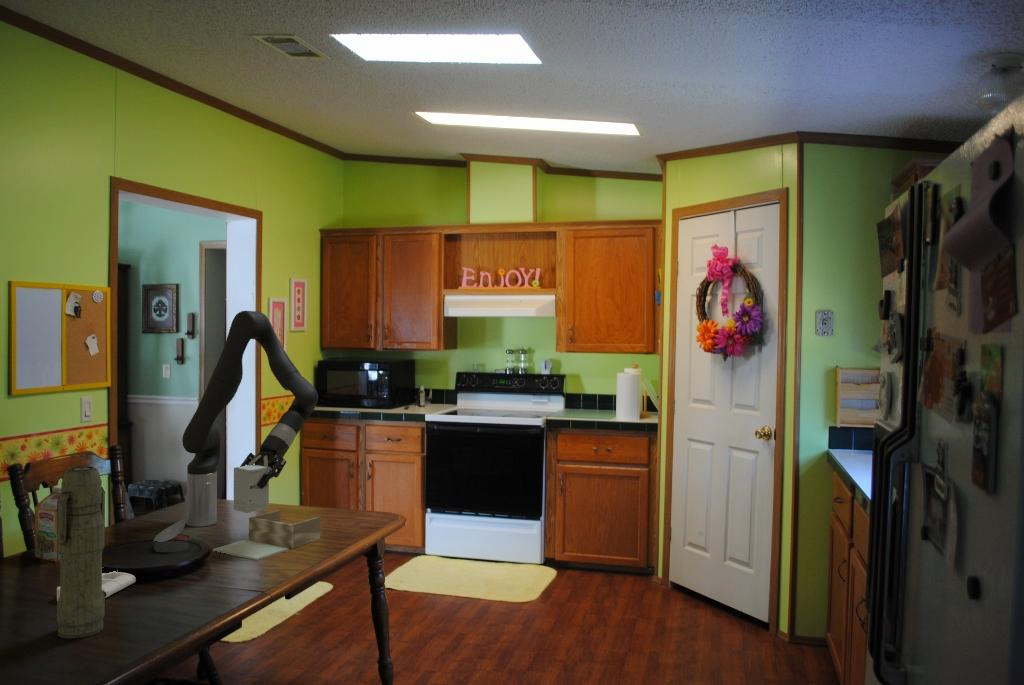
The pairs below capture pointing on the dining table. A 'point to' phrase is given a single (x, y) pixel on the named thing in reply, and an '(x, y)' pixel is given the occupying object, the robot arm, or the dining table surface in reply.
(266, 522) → the box
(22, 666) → the dining table surface
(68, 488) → the thermos
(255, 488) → the supplement box
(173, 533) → the canned food
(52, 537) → the milk carton
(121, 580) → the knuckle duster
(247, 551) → the mat
